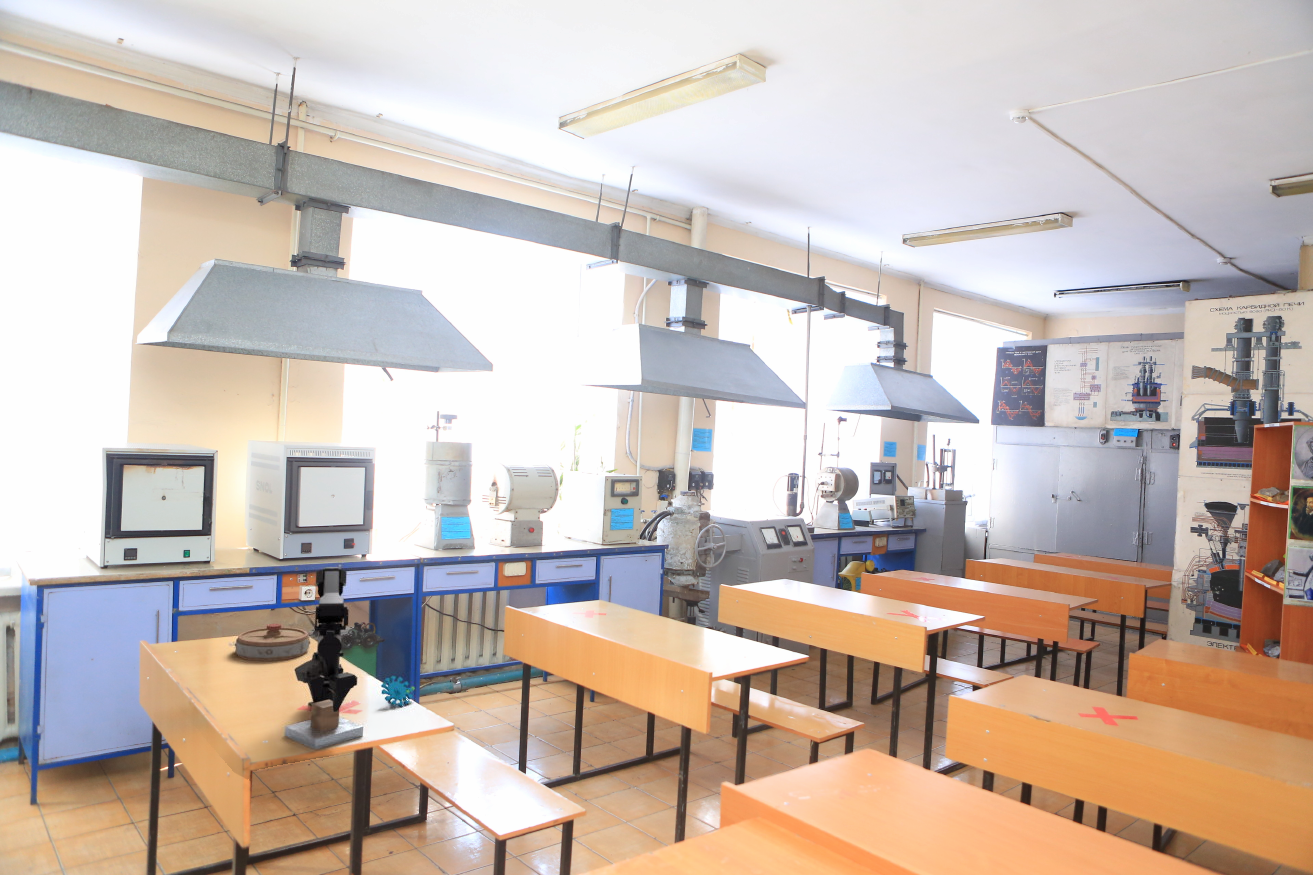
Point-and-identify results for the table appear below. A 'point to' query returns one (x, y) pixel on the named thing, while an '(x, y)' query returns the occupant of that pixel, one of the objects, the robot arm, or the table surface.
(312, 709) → the walnut block
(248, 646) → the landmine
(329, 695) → the robot arm
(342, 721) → the base plate
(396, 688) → the blue spiky blob
